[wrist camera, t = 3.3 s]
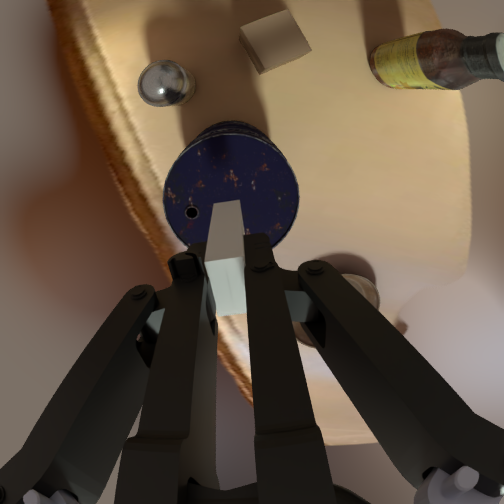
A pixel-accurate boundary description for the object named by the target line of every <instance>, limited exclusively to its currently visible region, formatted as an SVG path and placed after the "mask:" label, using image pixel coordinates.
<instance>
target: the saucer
mask: <svg viewBox="0 0 504 504" xmlns="http://www.w3.org/2000/svg"><path fill="white" fill-rule="evenodd" d="M341 275H342V276H343V277H344V278H345V279H346V280H347V281H348V282H349V283H350V284H351V285H352V286H353V287H355V288H356V289H357V290H358V291H359V292H360V293H361V294H362V295H363V296H364V297H365V298H366V299H367V300H368V301H369V302H370V303H371V304H372V305H373V306H374V307H375V308H376V309H377V310H378V311H379V307H380V296H379V293H378V290H377V288H376V287H375V285H374V284H373V283H372V282H371V281H370V280H368V279H366V278H365V277H362V276H359V275H355V274H341ZM292 324H293V328H294V332H295V336H296V340H297V341H298V342H300V343H301V344H303V345H306V346H308V347H311V348H315V346H314V345H313V343H312V342H311V340H310V339H309V337H308V336H307V334H306V333H305V331H304V330H303V328H302V327H301V324H300V322H295V321H292Z"/></svg>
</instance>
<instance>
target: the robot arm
mask: <svg viewBox="0 0 504 504" xmlns="http://www.w3.org/2000/svg"><path fill="white" fill-rule="evenodd" d="M168 266H169V269H170V272H171V275H172V279H173V281H172V284H171V286H170V287H168V288H166V289H163V290H160V291H157V292H155V289H154V287H153V286H151V285H147V284H144V285H138V286H135V287H134V288H132V289H130V290H129V291H128V292H127V293H126V294H125V295H124V296H123V298H122V299H121V300H120V302H119V303H118V304H117V306H116V307H115V308H114V310H113V311H112V312H111V313H110V315H109V316H108V317H107V319H106V320H105V322H104V323H103V324H102V326H101V327H100V328H99V330H98V331H97V332H96V334H95V335H94V337H93V338H92V339H91V341H90V342H89V344H88V345H87V346H86V348H85V349H84V351H83V352H82V353H81V355H80V356H79V358H78V359H77V361H76V362H75V364H74V365H73V366H72V368H71V370H70V371H69V373H68V374H67V375H66V377H65V379H64V380H63V381H62V383H61V384H60V386H59V388H58V389H57V391H56V392H55V394H54V395H53V397H52V398H51V400H50V402H49V403H48V405H47V406H46V408H45V410H44V412H43V413H42V414H41V416H40V418H39V420H38V421H37V423H36V424H35V426H34V428H33V430H32V431H31V433H30V435H29V436H28V438H27V440H26V442H25V444H24V445H23V447H22V449H21V450H20V451H19V452H18V453H17V454H16V455H15V456H13V457H12V458H11V460H9V461H8V462H7V463H6V464H5V465H4V466H3V467H2V468H1V469H0V504H96V503H97V501H98V500H99V498H100V496H101V494H102V492H103V490H104V488H105V487H106V484H107V482H108V480H109V477H110V475H111V473H112V471H113V468H114V466H115V464H116V461H117V459H118V457H119V455H120V453H121V450H122V455H121V460H120V467H119V473H118V479H117V485H116V492H115V500H114V504H370V503H369V502H368V501H366V500H365V499H363V498H362V497H360V496H358V495H357V494H356V493H354V492H352V491H350V490H348V489H346V488H344V487H342V486H339V485H336V484H333V482H332V478H331V474H330V469H329V464H328V459H327V455H326V450H325V446H324V441H323V437H322V433H321V430H320V428H319V426H318V425H317V424H316V421H315V418H314V413H313V409H312V404H311V400H310V395H309V391H308V387H307V382H306V378H305V374H304V370H303V365H302V361H301V357H300V353H299V348H298V344H297V340H296V336H295V332H294V328H293V324H292V321H295V322H300V324H301V327H302V328H303V330H304V331H305V333H306V334H307V336H308V337H309V339H310V340H311V342H312V343H313V345H314V346H315V348H316V349H317V351H318V352H319V354H320V355H321V357H322V358H323V360H324V361H325V363H326V364H327V366H328V367H329V369H330V370H331V372H332V373H333V375H334V376H335V378H336V379H337V381H338V382H339V384H340V385H341V387H342V388H343V390H344V391H345V393H346V394H347V396H348V397H349V398H350V400H351V401H352V403H353V404H354V406H355V407H356V409H357V410H358V412H359V413H360V415H361V416H362V418H363V419H364V421H365V422H366V424H367V425H368V427H369V428H370V430H371V431H372V433H373V434H374V436H375V437H376V439H377V440H378V442H379V443H380V445H381V446H382V448H383V449H384V451H385V452H386V454H387V455H388V456H389V458H390V460H391V461H392V462H393V464H394V465H395V467H396V468H397V469H398V471H399V472H400V473H401V474H402V476H403V477H404V478H405V479H406V480H407V481H408V482H409V483H410V484H411V485H412V486H413V487H415V488H416V489H417V491H416V494H415V497H414V504H499V501H500V500H501V498H502V497H503V496H504V429H502V428H500V427H498V426H497V425H495V424H493V423H491V422H489V421H488V420H486V419H484V418H482V417H480V416H479V415H477V414H475V413H474V412H473V411H472V410H471V409H470V407H469V406H468V405H467V404H466V403H465V402H464V401H463V400H462V398H461V397H459V395H458V394H457V393H456V392H455V391H454V390H453V388H452V387H451V386H450V385H449V384H448V383H447V382H446V381H445V380H444V379H443V378H442V376H441V375H440V374H439V373H438V372H437V371H436V370H435V369H434V368H433V367H432V366H431V365H430V364H429V363H428V361H427V360H426V359H425V358H424V357H423V356H422V355H421V354H420V353H419V352H418V351H417V350H416V349H415V348H414V347H413V346H412V345H411V344H410V343H409V341H407V339H406V338H405V337H404V336H403V335H402V334H401V333H400V332H399V331H398V330H397V329H396V328H395V327H394V326H393V325H392V324H391V323H390V322H389V321H388V320H387V319H386V318H385V317H384V316H383V315H382V314H381V313H380V312H379V311H378V310H377V309H376V308H375V307H374V306H373V305H372V304H371V303H370V302H369V301H368V300H367V299H366V298H365V297H364V296H363V295H362V294H361V293H360V292H359V291H358V290H357V289H356V288H355V287H353V286H352V285H351V284H350V283H349V282H348V281H347V280H346V279H345V278H344V277H343V276H342V275H341V274H340V273H339V272H338V271H337V270H336V269H335V268H334V267H333V266H332V265H330V264H329V263H327V262H325V261H321V260H311V261H307V262H304V263H302V264H301V265H300V266H299V267H298V271H290V270H285V269H282V268H280V267H279V266H278V264H277V263H276V262H275V259H274V255H273V251H272V247H271V243H270V239H269V236H268V235H266V234H265V233H264V232H262V233H255V234H248V235H245V232H244V225H243V219H242V212H241V206H240V200H234V201H228V202H221V203H215V204H214V205H213V211H212V217H211V223H210V229H209V235H208V241H205V242H199V243H193V244H192V245H191V246H190V247H189V248H188V249H187V251H185V252H181V253H178V254H176V255H174V256H172V257H171V258H170V259H169V260H168ZM216 311H217V315H218V316H227V315H235V314H242V313H247V324H248V338H249V352H250V365H251V379H252V392H253V405H254V416H255V417H254V418H255V436H254V447H255V462H256V474H257V482H256V483H252V484H249V485H245V486H242V487H238V488H235V489H231V490H226V491H224V490H220V486H219V481H218V477H217V474H216V372H217V337H218V323H217V319H216V316H215V315H216ZM138 334H140V336H141V337H140V339H139V340H138V341H137V340H136V339H137V336H138ZM142 405H143V406H142ZM141 407H142V411H141V417H140V422H139V428H138V432H137V434H136V435H135V436H134V437H130V438H128V439H127V437H128V435H129V433H130V430H131V429H132V426H133V424H134V422H135V420H136V418H137V416H138V413H139V411H140V409H141ZM126 439H127V440H126ZM122 448H123V449H122Z"/></svg>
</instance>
